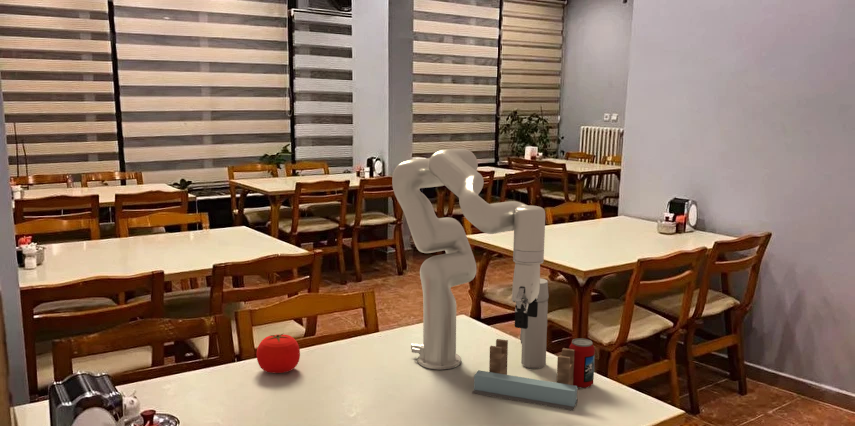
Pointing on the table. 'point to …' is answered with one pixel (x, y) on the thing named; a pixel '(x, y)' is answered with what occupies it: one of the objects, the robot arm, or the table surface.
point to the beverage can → (583, 362)
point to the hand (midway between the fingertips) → (526, 321)
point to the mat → (525, 400)
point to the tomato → (278, 353)
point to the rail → (526, 388)
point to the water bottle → (536, 332)
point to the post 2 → (565, 367)
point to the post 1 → (499, 357)
